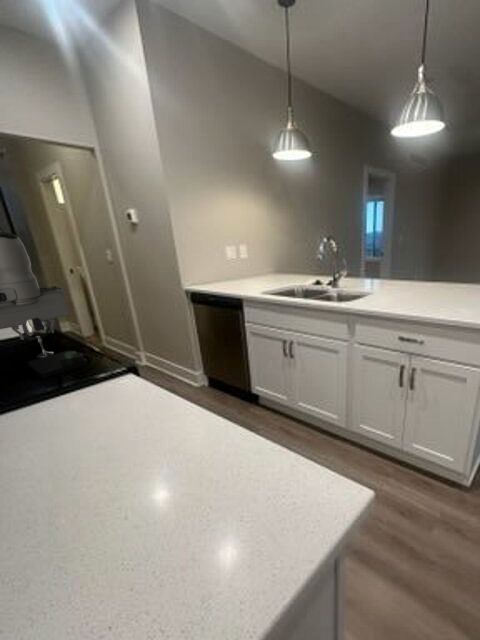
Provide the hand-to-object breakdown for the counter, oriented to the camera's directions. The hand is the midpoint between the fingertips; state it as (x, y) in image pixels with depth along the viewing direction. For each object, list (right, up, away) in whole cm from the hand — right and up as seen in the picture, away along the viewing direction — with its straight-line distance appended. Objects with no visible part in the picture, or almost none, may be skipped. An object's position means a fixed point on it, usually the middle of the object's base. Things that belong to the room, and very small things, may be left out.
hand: (37, 336), depth 105 cm
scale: (+4, -9, +3) cm, 10 cm away
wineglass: (0, -6, +3) cm, 6 cm away
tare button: (+10, -7, +1) cm, 12 cm away
